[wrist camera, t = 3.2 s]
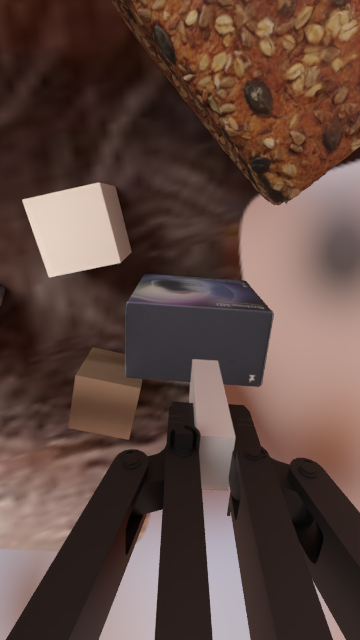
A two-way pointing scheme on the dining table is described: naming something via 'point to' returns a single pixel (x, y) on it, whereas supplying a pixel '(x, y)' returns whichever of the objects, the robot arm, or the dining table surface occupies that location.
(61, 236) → the cream block
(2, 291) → the juice carton
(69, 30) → the dining table surface
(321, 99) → the bread
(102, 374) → the walnut block
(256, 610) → the robot arm
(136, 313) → the small box
